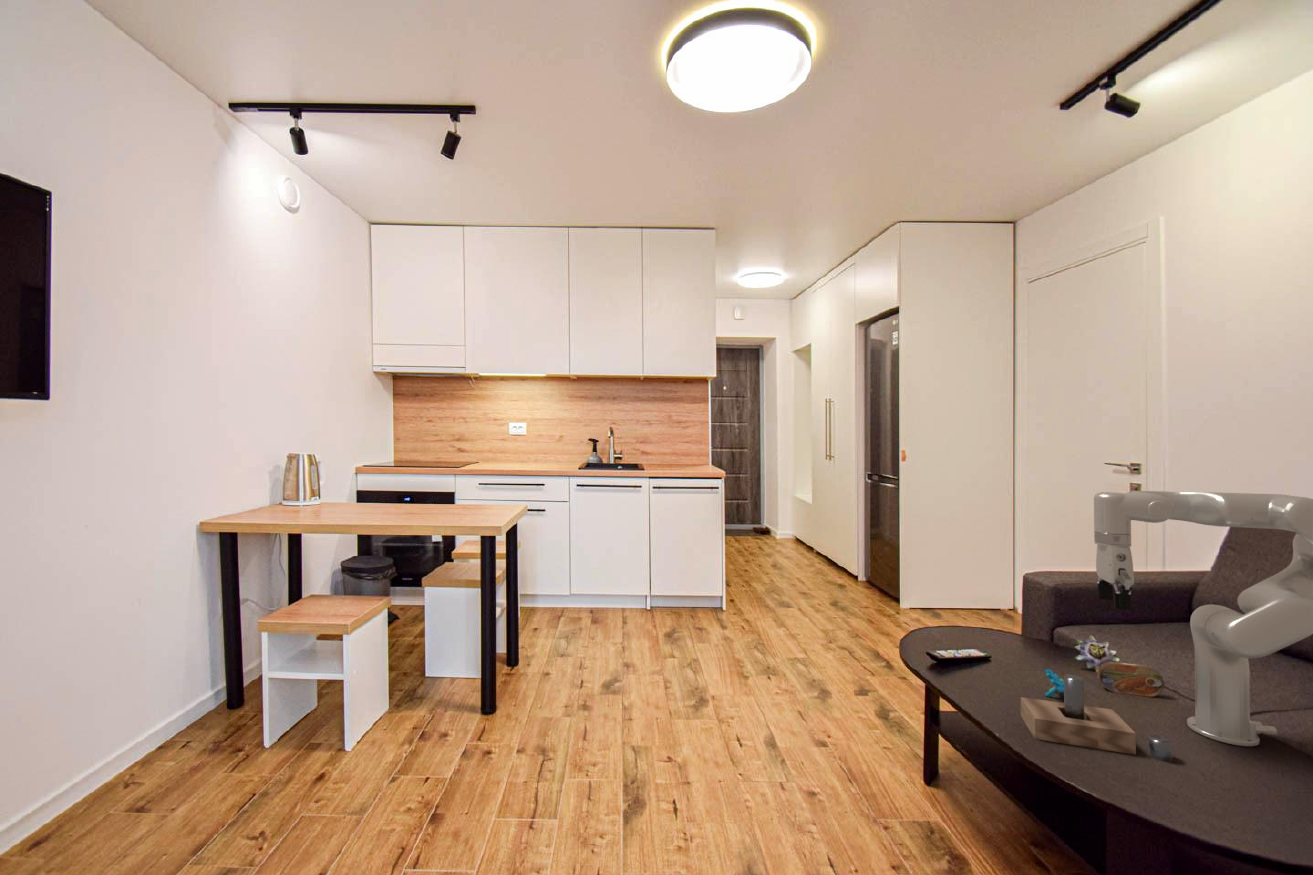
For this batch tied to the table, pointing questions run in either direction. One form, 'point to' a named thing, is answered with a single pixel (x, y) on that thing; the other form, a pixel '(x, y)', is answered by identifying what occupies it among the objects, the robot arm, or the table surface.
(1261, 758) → the table surface
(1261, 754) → the table surface
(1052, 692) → the gear
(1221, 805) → the table surface
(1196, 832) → the table surface
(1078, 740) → the hole block
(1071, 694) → the long pin
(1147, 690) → the tin
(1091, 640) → the passion flower
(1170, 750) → the short pin
